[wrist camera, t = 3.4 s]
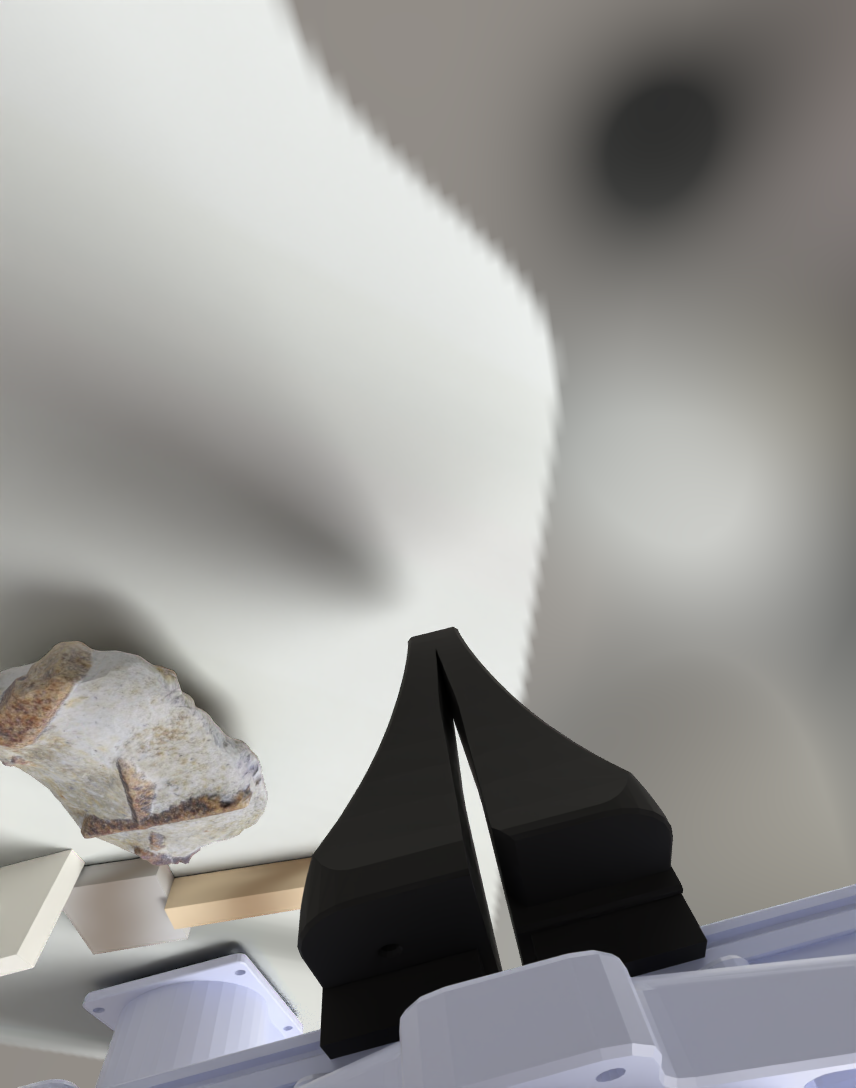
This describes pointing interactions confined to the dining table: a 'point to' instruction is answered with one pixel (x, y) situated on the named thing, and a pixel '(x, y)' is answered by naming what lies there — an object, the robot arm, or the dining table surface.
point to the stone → (128, 752)
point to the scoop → (174, 900)
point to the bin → (33, 906)
